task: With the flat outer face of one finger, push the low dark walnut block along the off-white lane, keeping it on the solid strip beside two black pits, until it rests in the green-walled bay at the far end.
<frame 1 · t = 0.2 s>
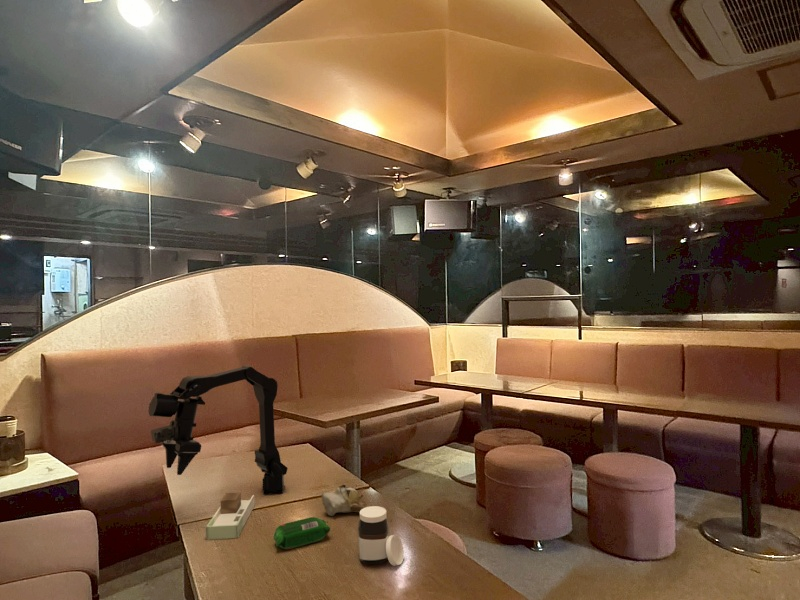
hand: (173, 471, 149), 15 cm above the table, tool pointing down, fingers open, 9 cm apart
walnut block: (231, 509, 153), point 2 cm above the table, touching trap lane
snack package: (302, 542, 136), on the table
ceramic sculpture: (345, 512, 155), on the table
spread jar: (381, 559, 126), on the table
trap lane: (232, 521, 149), on the table
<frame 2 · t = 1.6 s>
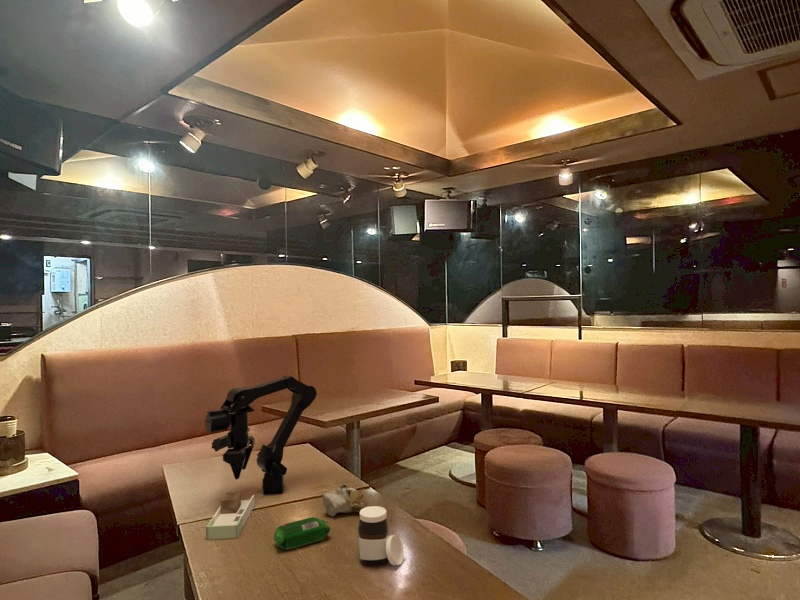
hand: (240, 474, 165), 9 cm above the table, tool pointing down, fingers open, 9 cm apart
nothing on the table moved.
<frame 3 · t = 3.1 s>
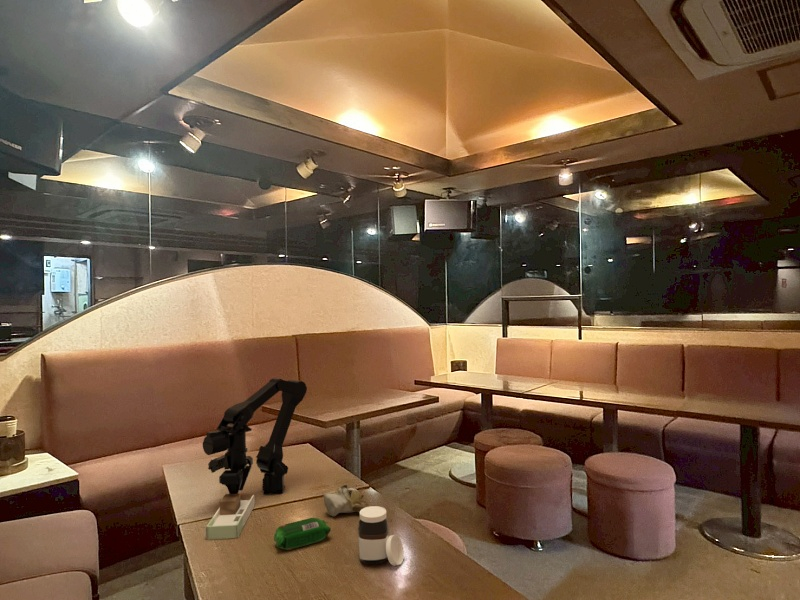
hand: (237, 495, 161), 3 cm above the table, tool pointing down, fingers open, 9 cm apart
walnut block: (230, 510, 152), point 2 cm above the table, touching gripper
everything else where it was.
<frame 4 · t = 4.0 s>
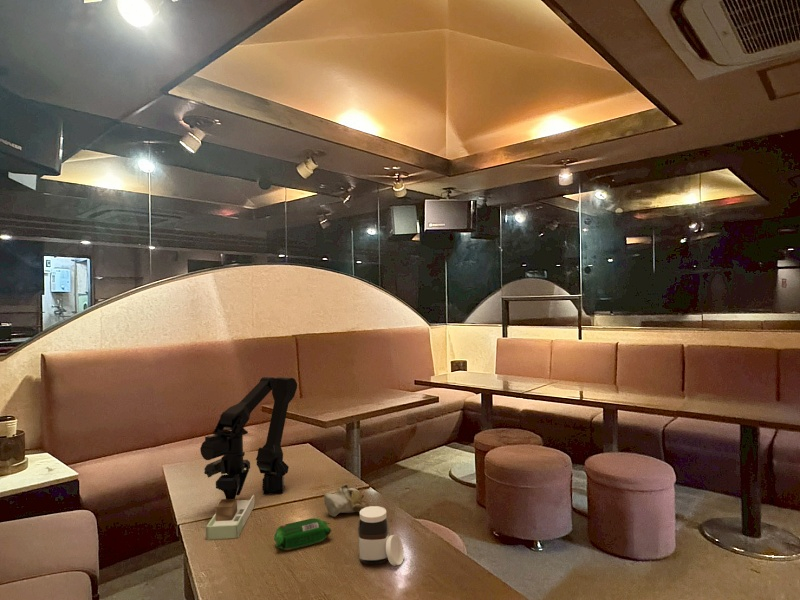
hand: (234, 500, 157), 3 cm above the table, tool pointing down, fingers open, 9 cm apart
walnut block: (226, 516, 148), point 2 cm above the table, touching gripper, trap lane
everything else where it was.
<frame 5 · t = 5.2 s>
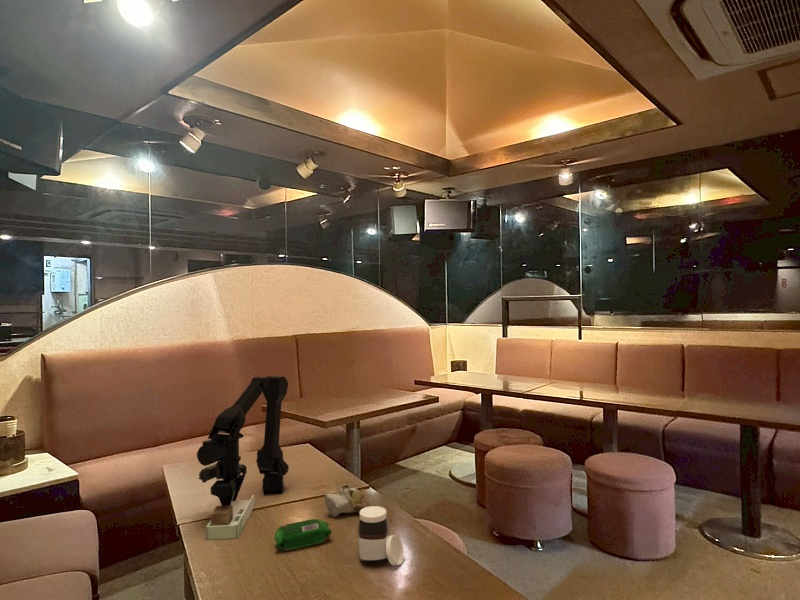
hand: (230, 506, 152), 3 cm above the table, tool pointing down, fingers open, 9 cm apart
walnut block: (222, 523, 143), point 2 cm above the table, touching gripper, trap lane
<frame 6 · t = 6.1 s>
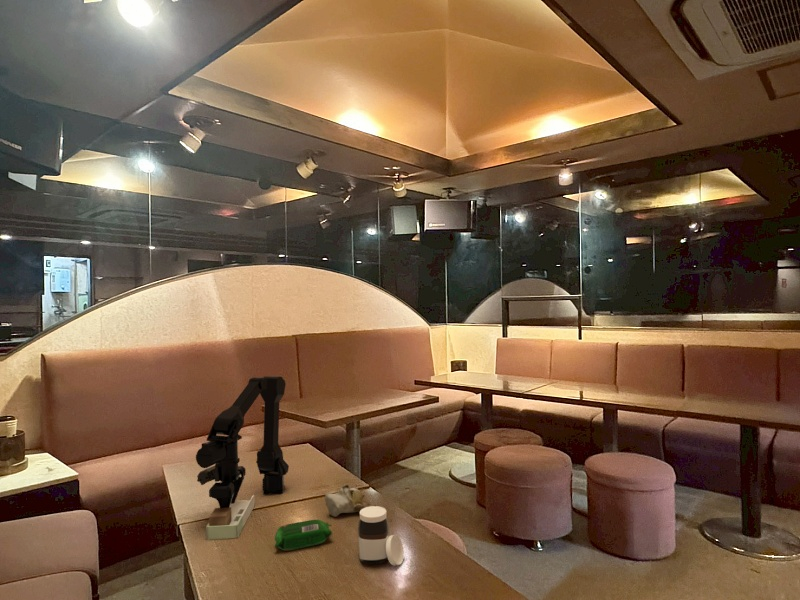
hand: (228, 509, 151), 3 cm above the table, tool pointing down, fingers open, 8 cm apart
walnut block: (220, 526, 142), point 2 cm above the table, touching gripper, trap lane
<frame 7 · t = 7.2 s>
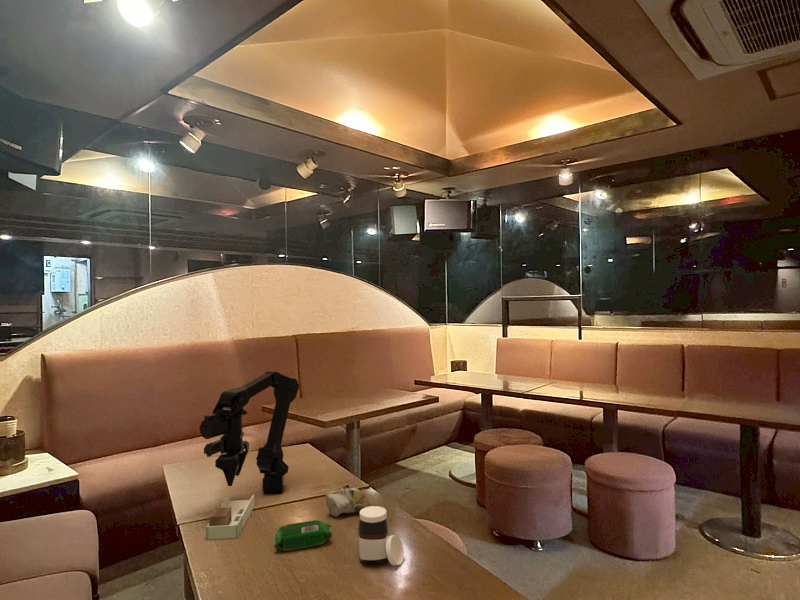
hand: (233, 480, 157), 9 cm above the table, tool pointing down, fingers open, 9 cm apart
walnut block: (220, 526, 142), point 2 cm above the table, touching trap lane
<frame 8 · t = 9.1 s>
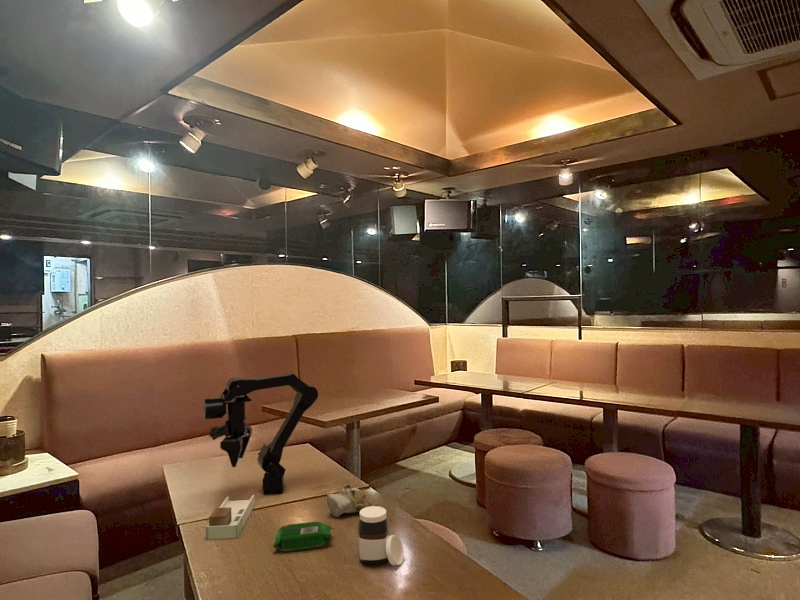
hand: (237, 462, 167), 12 cm above the table, tool pointing down, fingers open, 9 cm apart
at the end: walnut block 0.7 cm from the target spot, point 2.0 cm above the table; walnut block tilted 0°; walnut block moved 11.4 cm from its start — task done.
